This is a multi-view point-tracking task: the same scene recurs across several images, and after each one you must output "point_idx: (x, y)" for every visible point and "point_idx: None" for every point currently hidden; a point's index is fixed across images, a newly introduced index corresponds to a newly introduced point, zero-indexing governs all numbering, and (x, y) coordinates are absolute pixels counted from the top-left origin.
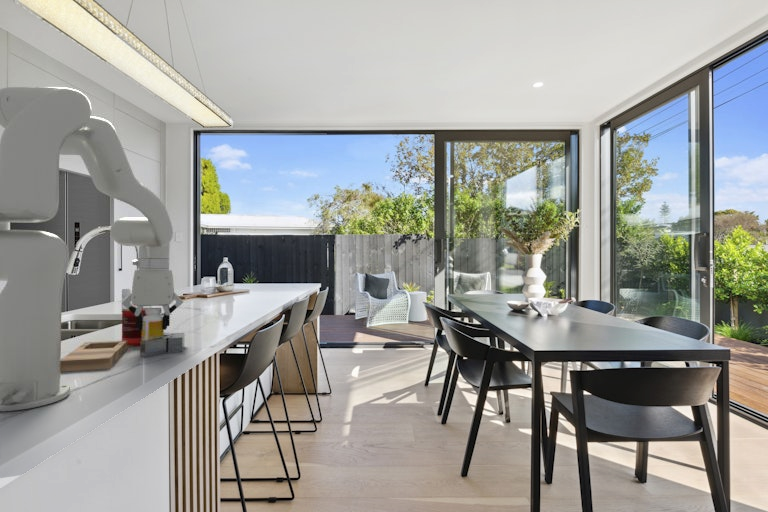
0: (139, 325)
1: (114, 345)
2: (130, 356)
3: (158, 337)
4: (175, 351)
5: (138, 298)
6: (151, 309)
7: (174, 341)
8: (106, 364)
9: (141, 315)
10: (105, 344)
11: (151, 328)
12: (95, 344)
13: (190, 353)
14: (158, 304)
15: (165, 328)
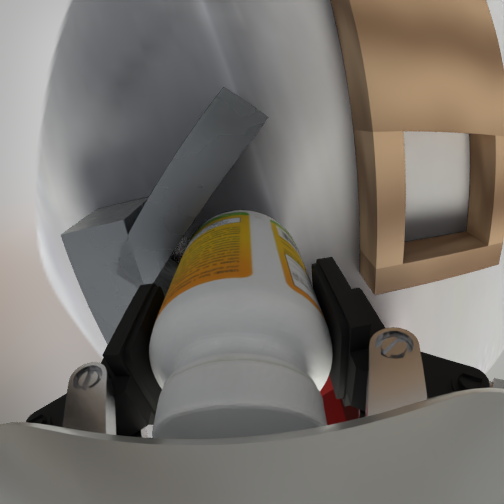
0: (332, 274)
1: (413, 253)
2: (310, 130)
3: (191, 243)
4: (120, 204)
5: (492, 501)
6: (231, 402)
7: (103, 218)
8: None
9: (348, 372)
10: (445, 250)
11: (226, 250)
12: (473, 246)
13: (56, 177)
14: (93, 441)
15: (140, 285)
